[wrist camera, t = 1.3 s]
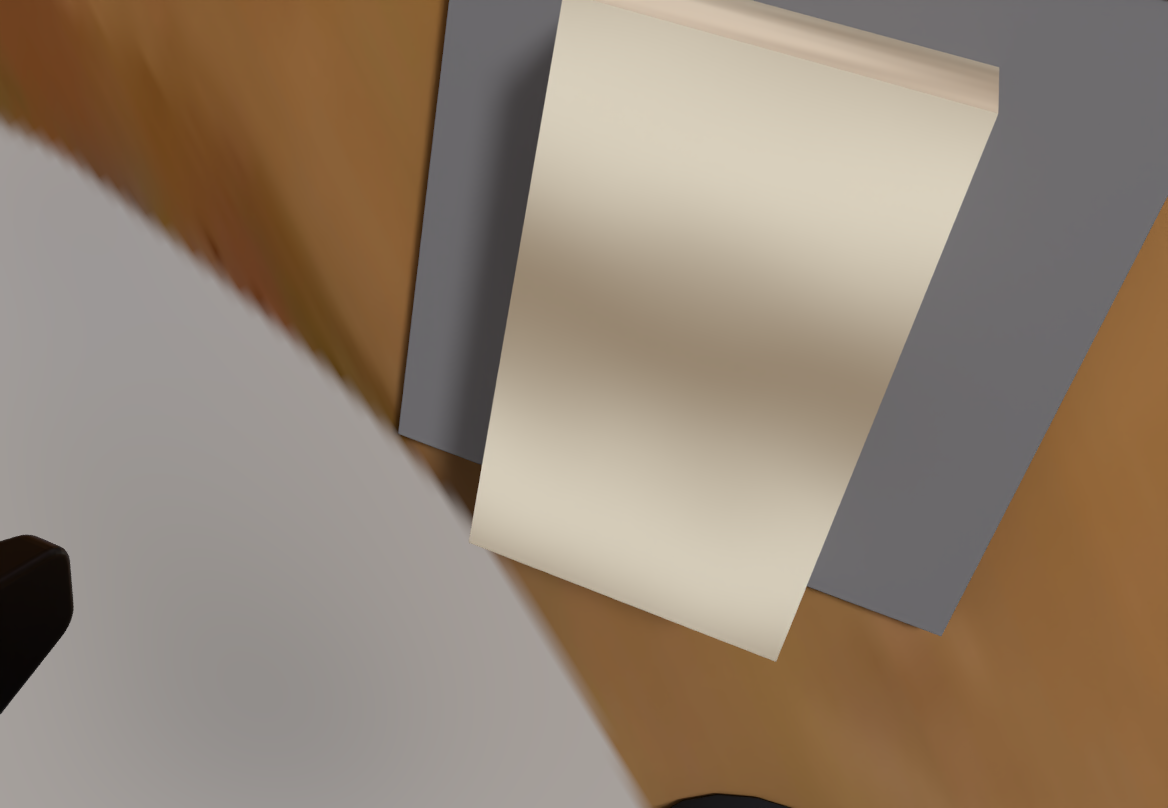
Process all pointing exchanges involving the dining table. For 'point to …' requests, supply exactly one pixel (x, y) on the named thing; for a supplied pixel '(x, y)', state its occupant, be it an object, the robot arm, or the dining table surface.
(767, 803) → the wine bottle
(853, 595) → the mat
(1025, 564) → the dining table surface
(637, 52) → the block
